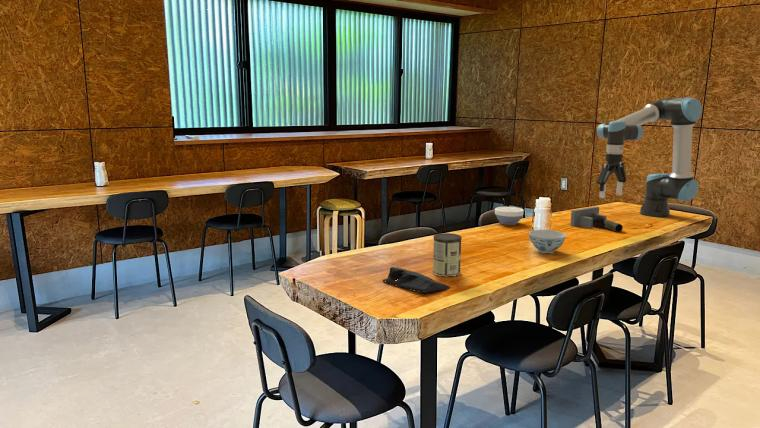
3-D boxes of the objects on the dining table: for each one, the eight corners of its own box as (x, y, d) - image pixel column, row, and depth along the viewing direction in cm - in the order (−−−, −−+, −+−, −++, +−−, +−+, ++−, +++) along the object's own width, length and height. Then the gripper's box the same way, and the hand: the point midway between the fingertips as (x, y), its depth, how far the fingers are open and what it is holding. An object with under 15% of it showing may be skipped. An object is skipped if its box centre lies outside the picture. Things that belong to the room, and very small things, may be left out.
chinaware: (549, 245, 244) (550, 228, 242) (572, 254, 230) (573, 236, 229) (520, 248, 239) (521, 231, 237) (542, 257, 225) (543, 239, 223)
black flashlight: (622, 232, 270) (623, 221, 269) (611, 233, 268) (612, 222, 266) (597, 224, 286) (598, 213, 285) (586, 225, 284) (587, 214, 283)
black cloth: (420, 299, 179) (421, 285, 178) (378, 281, 196) (378, 269, 195) (453, 289, 189) (454, 276, 188) (410, 273, 206) (411, 261, 205)
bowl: (528, 223, 286) (529, 209, 285) (513, 228, 276) (514, 213, 274) (503, 219, 296) (504, 205, 295) (488, 223, 286) (489, 209, 284)
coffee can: (443, 267, 212) (444, 231, 209) (465, 272, 205) (467, 236, 202) (426, 273, 205) (427, 236, 202) (449, 279, 198) (451, 241, 195)
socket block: (594, 221, 293) (596, 206, 291) (609, 224, 285) (611, 209, 284) (570, 225, 282) (571, 210, 280) (585, 229, 275) (586, 213, 273)
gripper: (605, 155, 258) (601, 200, 262) (636, 152, 271) (632, 195, 276) (591, 154, 264) (588, 197, 268) (622, 151, 277) (618, 192, 282)
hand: (610, 196), depth 272 cm, fingers open, 13 cm apart
